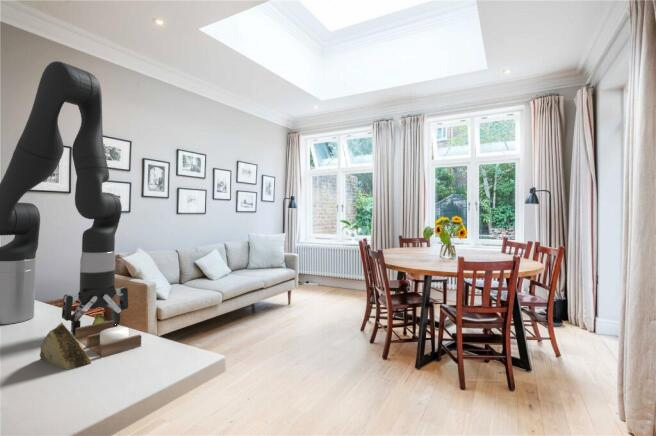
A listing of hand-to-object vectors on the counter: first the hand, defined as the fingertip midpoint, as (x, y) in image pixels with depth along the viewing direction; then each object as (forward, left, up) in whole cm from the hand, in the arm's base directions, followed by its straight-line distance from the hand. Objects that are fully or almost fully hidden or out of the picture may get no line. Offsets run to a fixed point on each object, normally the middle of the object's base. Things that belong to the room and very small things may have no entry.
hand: (96, 330), depth 87 cm
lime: (0, 0, -1) cm, 1 cm away
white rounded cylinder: (+15, -2, 0) cm, 15 cm away
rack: (+11, -2, -1) cm, 11 cm away
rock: (+15, -11, -1) cm, 19 cm away
